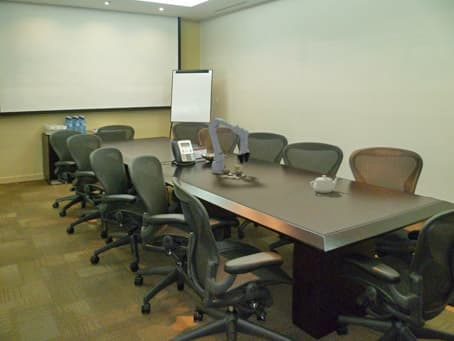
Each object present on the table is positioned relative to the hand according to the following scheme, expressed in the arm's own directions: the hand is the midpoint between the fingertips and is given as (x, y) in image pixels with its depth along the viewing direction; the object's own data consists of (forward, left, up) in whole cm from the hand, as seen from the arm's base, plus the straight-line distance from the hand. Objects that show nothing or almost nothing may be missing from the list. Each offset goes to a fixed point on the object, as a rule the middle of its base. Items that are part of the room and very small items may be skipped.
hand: (243, 162), depth 319 cm
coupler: (-7, +3, -10) cm, 12 cm away
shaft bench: (-4, -11, -10) cm, 15 cm away
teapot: (+71, -21, -10) cm, 75 cm away
